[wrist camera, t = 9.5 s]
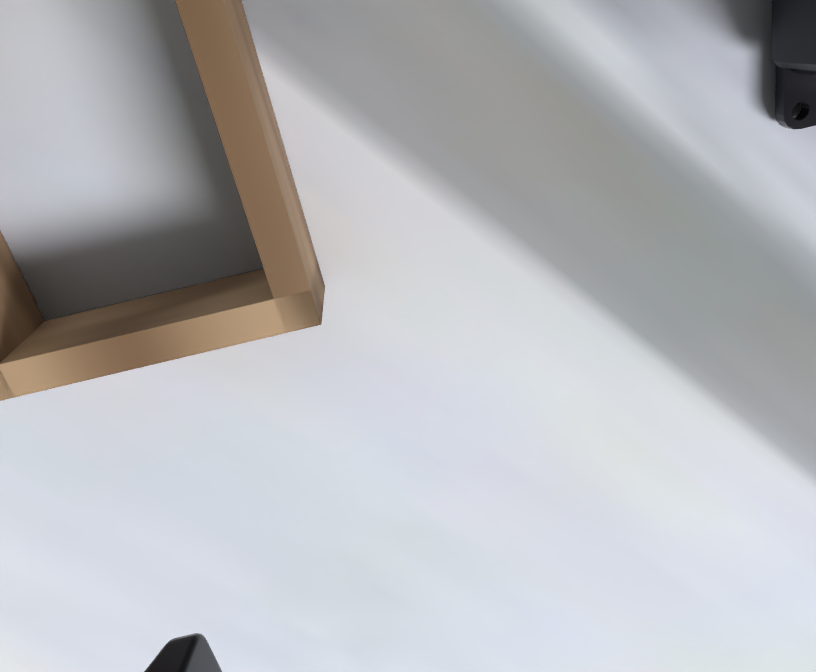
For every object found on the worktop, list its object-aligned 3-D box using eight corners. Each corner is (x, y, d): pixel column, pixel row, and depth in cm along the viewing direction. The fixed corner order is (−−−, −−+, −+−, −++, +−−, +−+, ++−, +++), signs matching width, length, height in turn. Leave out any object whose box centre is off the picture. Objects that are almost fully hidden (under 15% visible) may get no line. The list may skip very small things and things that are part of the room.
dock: (147, -321, 15) (100, -405, 12) (324, 286, 21) (321, 324, 18) (-269, -215, 15) (-409, -272, 12) (28, 357, 21) (-21, 405, 18)
